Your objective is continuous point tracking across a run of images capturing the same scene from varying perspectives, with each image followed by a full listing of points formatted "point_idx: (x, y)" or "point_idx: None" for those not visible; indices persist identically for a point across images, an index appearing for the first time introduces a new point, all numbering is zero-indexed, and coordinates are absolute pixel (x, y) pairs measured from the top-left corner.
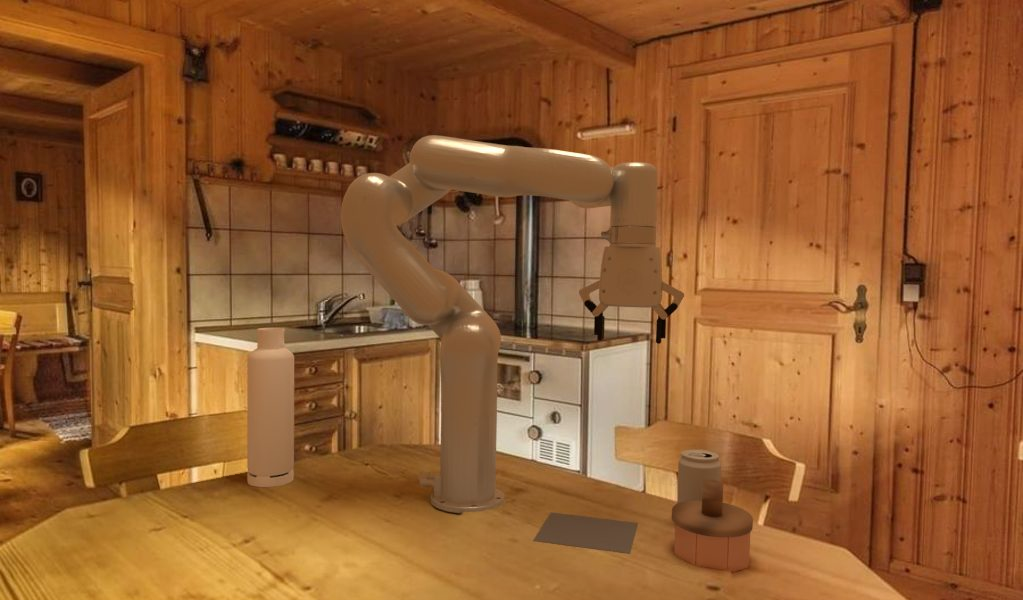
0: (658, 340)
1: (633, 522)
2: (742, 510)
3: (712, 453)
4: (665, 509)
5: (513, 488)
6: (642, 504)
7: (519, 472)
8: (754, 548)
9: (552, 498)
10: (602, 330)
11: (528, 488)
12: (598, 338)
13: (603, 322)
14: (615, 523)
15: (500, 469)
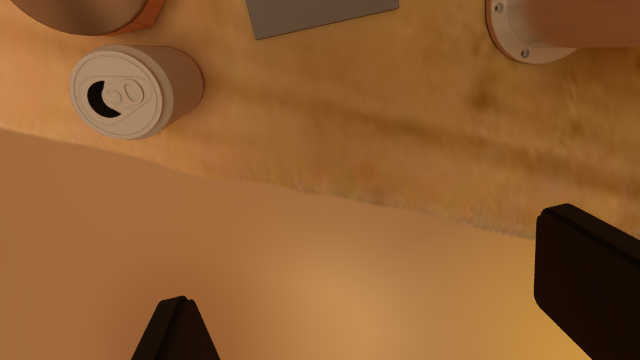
0: (167, 306)
1: (262, 37)
2: (24, 5)
3: (96, 123)
4: (245, 141)
5: (491, 102)
6: (284, 143)
7: (504, 178)
8: (64, 47)
9: (420, 92)
10: (586, 273)
11: (469, 115)
12: (564, 205)
13: (637, 351)
14: (286, 15)
15: (536, 175)
